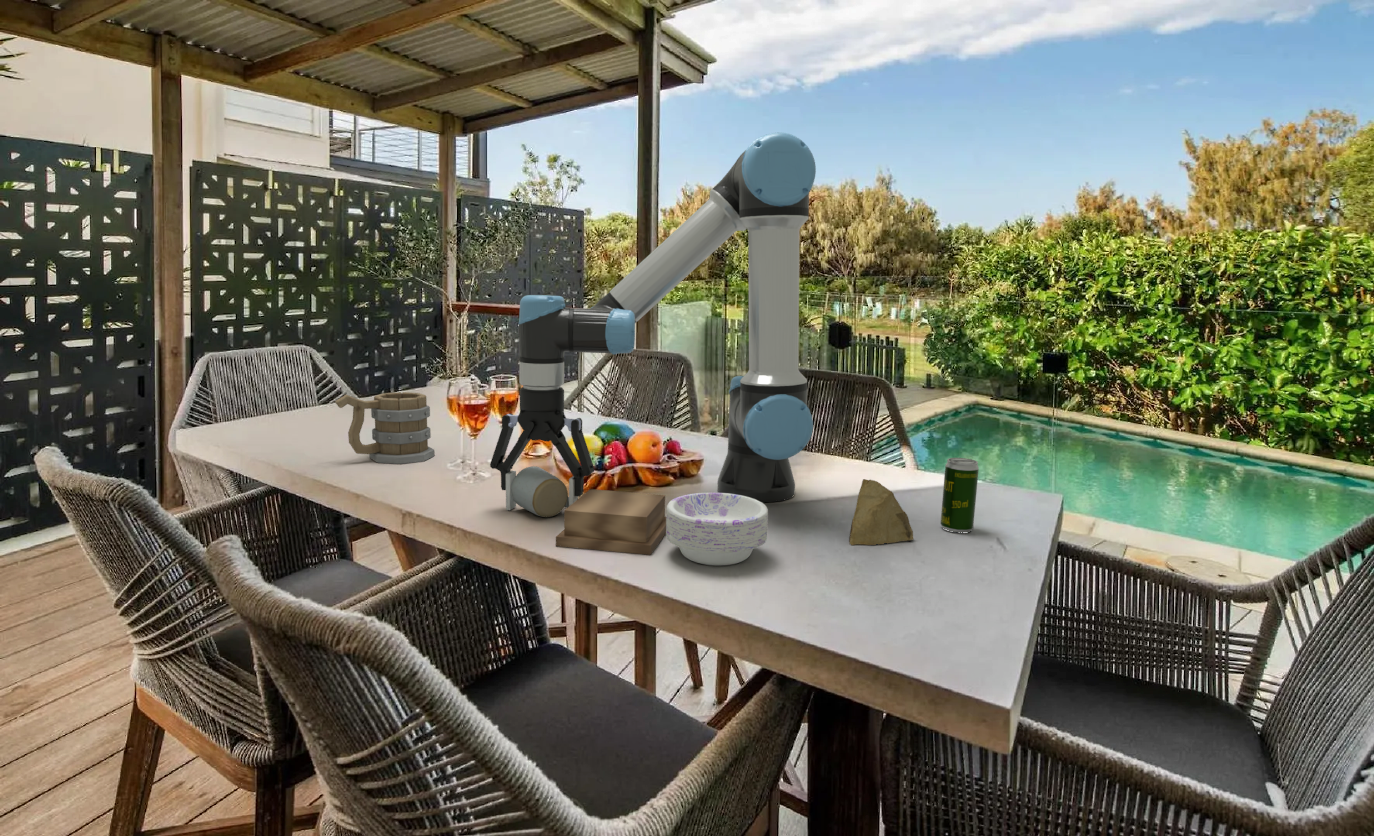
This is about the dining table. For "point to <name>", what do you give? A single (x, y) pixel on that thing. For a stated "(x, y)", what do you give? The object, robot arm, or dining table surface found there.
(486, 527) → the dining table surface
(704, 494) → the paper bowls
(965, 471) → the beer can
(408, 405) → the tankard
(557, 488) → the ceramic mug
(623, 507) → the walnut riser
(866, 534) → the rock
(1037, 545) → the dining table surface
